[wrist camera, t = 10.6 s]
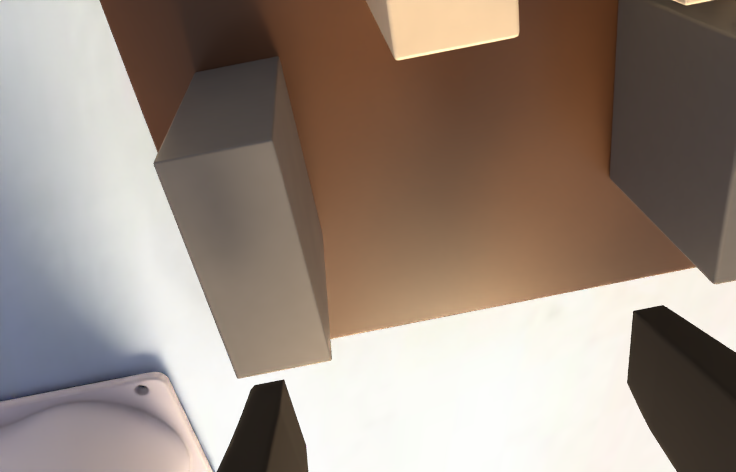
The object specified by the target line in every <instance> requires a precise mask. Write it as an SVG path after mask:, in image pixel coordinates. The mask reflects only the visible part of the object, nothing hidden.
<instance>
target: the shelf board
mask: <svg viewBox="0 0 736 472" xmlns="http://www.w3.org/2000/svg"><path fill="white" fill-rule="evenodd" d="M100 3H101V5H102V8H103V11H104V13H105V16H106V18H107V21H108V24H109V26H110V29H111V32H112V34H113V37H114V39H115V42H116V45H117V47H118V50H119V52H120V55H121V58H122V60H123V63H124V66H125V68H126V71H127V73H128V76H129V79H130V81H131V84H132V86H133V89H134V92H135V94H136V97H137V100H138V102H139V105H140V107H141V110H142V113H143V115H144V118H145V120H146V123H147V126H148V128H149V131H150V134H151V136H152V139H153V141H154V144H155V147H156V149H157V152H159V150H160V148H161V145H162V143H163V141H164V139H165V137H166V135H167V132H168V130H169V128H170V126H171V124H172V122H173V119H174V117H175V115H176V113H177V111H178V109H179V106H180V104H181V102H182V100H183V98H184V95H185V93H186V91H187V89H188V87H189V85H190V82H191V80H192V78H193V76H194V74H195V73H196V72H200V71H205V70H210V69H215V68H220V67H225V66H231V65H236V64H241V63H246V62H251V61H256V60H261V59H266V58H271V57H276V56H278V57H279V58H280V62H281V66H282V70H283V75H284V79H285V83H286V87H287V91H288V95H289V99H290V103H291V107H292V111H293V116H294V120H295V124H296V128H297V132H298V136H299V140H300V144H301V148H302V152H303V157H304V161H305V165H306V169H307V173H308V177H309V181H310V185H311V189H312V193H313V198H314V202H315V206H316V210H317V214H318V218H319V222H320V226H321V230H322V234H323V248H324V261H325V274H326V288H327V301H328V314H329V328H330V339H333V338H338V337H343V336H348V335H353V334H358V333H364V332H369V331H374V330H379V329H384V328H389V327H394V326H399V325H404V324H409V323H415V322H420V321H425V320H430V319H435V318H440V317H445V316H450V315H455V314H460V313H466V312H471V311H476V310H481V309H486V308H491V307H496V306H501V305H506V304H511V303H516V302H522V301H527V300H532V299H537V298H542V297H547V296H552V295H557V294H562V293H567V292H573V291H578V290H583V289H588V288H593V287H598V286H603V285H608V284H613V283H618V282H624V281H629V280H634V279H639V278H644V277H649V276H654V275H659V274H664V273H669V272H674V271H680V270H685V269H690V268H695V267H696V266H695V265H694V264H693V263H692V262H691V261H690V260H689V259H688V258H687V257H686V256H685V255H684V254H683V253H682V252H681V251H680V250H679V249H678V248H677V247H676V246H675V244H674V243H673V242H672V241H671V240H670V239H669V238H668V237H667V236H666V235H665V234H664V233H663V232H662V231H661V230H660V229H659V228H658V227H657V226H656V225H655V224H654V223H653V222H652V221H651V220H650V219H649V218H648V217H647V216H646V215H645V214H644V213H643V212H642V211H641V210H640V209H639V208H638V207H637V206H636V205H635V204H634V203H633V202H632V201H631V200H630V199H629V198H628V197H627V196H626V195H625V194H624V193H623V192H622V190H621V189H620V188H619V187H618V186H617V185H616V184H615V183H614V182H613V181H612V180H611V179H610V161H611V141H612V122H613V102H614V82H615V62H616V43H617V23H618V3H619V0H518V5H519V35H518V36H517V37H515V38H510V39H505V40H500V41H495V42H490V43H485V44H479V45H474V46H469V47H464V48H459V49H454V50H449V51H444V52H439V53H434V54H429V55H424V56H418V57H413V58H408V59H403V60H395V58H394V57H393V54H392V52H391V50H390V48H389V46H388V44H387V42H386V40H385V38H384V36H383V34H382V32H381V30H380V28H379V26H378V24H377V22H376V20H375V18H374V16H373V14H372V12H371V10H370V8H369V6H368V4H367V2H366V0H100Z"/></svg>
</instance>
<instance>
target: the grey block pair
mask: <svg viewBox="0 0 736 472" xmlns="http://www.w3.org/2000/svg"><path fill="white" fill-rule="evenodd" d="M154 167H155V169H156V172H157V174H158V177H159V179H160V182H161V184H162V187H163V190H164V192H165V195H166V197H167V200H168V202H169V205H170V207H171V210H172V213H173V215H174V218H175V220H176V223H177V225H178V228H179V230H180V233H181V236H182V238H183V241H184V243H185V246H186V248H187V251H188V254H189V256H190V259H191V261H192V264H193V266H194V269H195V271H196V274H197V277H198V279H199V282H200V284H201V287H202V289H203V292H204V294H205V297H206V300H207V302H208V305H209V307H210V310H211V312H212V315H213V318H214V320H215V323H216V325H217V328H218V330H219V333H220V335H221V338H222V341H223V343H224V346H225V348H226V351H227V353H228V356H229V358H230V361H231V364H232V366H233V369H234V371H235V374H236V376H237V378H238V379H239V378H244V377H250V376H255V375H260V374H265V373H270V372H275V371H280V370H285V369H290V368H295V367H301V366H306V365H311V364H316V363H321V362H326V361H330V360H331V359H332V355H331V341H330V328H329V314H328V301H327V288H326V274H325V261H324V248H323V234H322V230H321V226H320V222H319V218H318V214H317V210H316V206H315V202H314V198H313V193H312V189H311V185H310V181H309V177H308V173H307V169H306V165H305V161H304V157H303V152H302V148H301V144H300V140H299V136H298V132H297V128H296V124H295V120H294V116H293V111H292V107H291V103H290V99H289V95H288V91H287V87H286V83H285V79H284V75H283V70H282V66H281V62H280V58H279V57H278V56H276V57H271V58H266V59H261V60H256V61H251V62H246V63H241V64H236V65H231V66H225V67H220V68H215V69H210V70H205V71H200V72H196V73H195V74H194V76H193V78H192V80H191V82H190V85H189V87H188V89H187V91H186V93H185V95H184V98H183V100H182V102H181V104H180V106H179V109H178V111H177V113H176V115H175V117H174V119H173V122H172V124H171V126H170V128H169V130H168V132H167V135H166V137H165V139H164V141H163V143H162V145H161V148H160V150H159V152H158V154H157V156H156V159H155V161H154ZM610 179H611V180H612V181H613V182H614V183H615V184H616V185H617V186H618V187H619V188H620V189H621V190H622V192H623V193H624V194H625V195H626V196H627V197H628V198H629V199H630V200H631V201H632V202H633V203H634V204H635V205H636V206H637V207H638V208H639V209H640V210H641V211H642V212H643V213H644V214H645V215H646V216H647V217H648V218H649V219H650V220H651V221H652V222H653V223H654V224H655V225H656V226H657V227H658V228H659V229H660V230H661V231H662V232H663V233H664V234H665V235H666V236H667V237H668V238H669V239H670V240H671V241H672V242H673V243H674V244H675V246H676V247H677V248H678V249H679V250H680V251H681V252H682V253H683V254H684V255H685V256H686V257H687V258H688V259H689V260H690V261H691V262H692V263H693V264H694V265H695V266H696V267H697V268H698V269H699V270H700V271H701V272H702V273H703V274H704V275H705V276H706V277H707V278H708V279H709V280H710V281H711V282H712V283H713V284H720V283H725V282H731V281H736V0H711V1H706V2H701V3H696V4H691V5H683V4H681V3H678V2H676V1H673V0H619V3H618V23H617V43H616V62H615V82H614V102H613V122H612V141H611V161H610Z"/></svg>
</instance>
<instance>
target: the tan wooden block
mask: <svg viewBox="0 0 736 472" xmlns="http://www.w3.org/2000/svg"><path fill="white" fill-rule="evenodd" d="M366 2H367V4H368V6H369V8H370V10H371V12H372V14H373V16H374V18H375V20H376V22H377V24H378V26H379V28H380V30H381V32H382V34H383V36H384V38H385V40H386V42H387V44H388V46H389V48H390V50H391V52H392V54H393V57H394V58H395V60H403V59H408V58H413V57H418V56H424V55H429V54H434V53H439V52H444V51H449V50H454V49H459V48H464V47H469V46H474V45H479V44H485V43H490V42H495V41H500V40H505V39H510V38H515V37H517V36H518V35H519V5H518V0H366Z"/></svg>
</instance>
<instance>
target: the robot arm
mask: <svg viewBox="0 0 736 472" xmlns="http://www.w3.org/2000/svg"><path fill="white" fill-rule="evenodd" d="M627 383H628V385H629V388H630V390H631V392H632V394H633V396H634V398H635V400H636V403H637V405H638V407H639V409H640V411H641V413H642V415H643V417H644V419H645V421H646V423H647V425H648V427H649V429H650V430H651V432H652V433H653V435H654V437H655V438H656V440H657V441H658V443H659V444H660V446H661V448H662V449H663V451H664V452H665V454H666V455H667V457H668V458H669V460H670V462H671V463H672V465H673V466H674V468H675V469H676V471H677V472H736V352H734V351H733V350H731V349H729V348H728V347H726V346H725V345H723V344H722V343H720V342H719V341H717V340H716V339H714V338H713V337H711V336H709V335H708V334H706V333H705V332H703V331H702V330H700V329H699V328H697V327H696V326H694V325H693V324H691V323H690V322H688V321H687V320H685V319H684V318H682V317H681V316H679V315H678V314H676V313H674V312H673V311H671V310H670V309H668V308H667V307H665V306H663V305H662V306H657V307H652V308H646V309H641V310H636V311H633V321H632V333H631V344H630V356H629V368H628V380H627ZM138 385H143V386H146V388H142V387H139V386H138ZM0 472H213V471H212V469H211V467H210V465H209V463H208V461H207V458H206V456H205V454H204V452H203V450H202V448H201V446H200V444H199V442H198V439H197V437H196V435H195V433H194V431H193V429H192V427H191V425H190V423H189V421H188V418H187V416H186V414H185V412H184V410H183V408H182V406H181V404H180V402H179V399H178V397H177V395H176V393H175V391H174V389H173V387H172V385H171V383H170V380H169V379H168V377H167V376H166V375H165V374H163V373H160V372H149V373H144V374H139V375H133V376H128V377H123V378H118V379H113V380H108V381H103V382H98V383H93V384H88V385H82V386H77V387H72V388H67V389H62V390H57V391H52V392H47V393H42V394H37V395H31V396H26V397H21V398H16V399H11V400H6V401H1V402H0ZM217 472H308V463H307V451H306V444H305V441H304V438H303V435H302V432H301V429H300V426H299V423H298V420H297V417H296V414H295V411H294V408H293V405H292V402H291V399H290V396H289V393H288V390H287V387H286V384H285V381H284V380H279V381H274V382H269V383H264V384H259V385H254V387H253V388H252V389H251V391H250V393H249V396H248V399H247V402H246V405H245V407H244V410H243V413H242V415H241V418H240V420H239V423H238V425H237V428H236V430H235V432H234V435H233V437H232V439H231V442H230V444H229V447H228V449H227V451H226V453H225V455H224V457H223V460H222V462H221V464H220V466H219V468H218V470H217Z"/></svg>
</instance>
